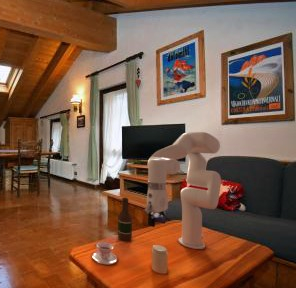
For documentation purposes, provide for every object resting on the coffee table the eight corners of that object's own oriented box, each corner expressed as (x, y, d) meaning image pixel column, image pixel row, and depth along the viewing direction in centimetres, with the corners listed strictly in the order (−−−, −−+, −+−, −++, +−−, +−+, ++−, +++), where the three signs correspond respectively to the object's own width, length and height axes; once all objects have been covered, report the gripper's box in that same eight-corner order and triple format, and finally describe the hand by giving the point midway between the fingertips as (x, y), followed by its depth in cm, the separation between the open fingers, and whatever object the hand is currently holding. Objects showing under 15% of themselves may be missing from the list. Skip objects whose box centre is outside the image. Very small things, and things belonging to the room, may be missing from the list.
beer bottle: (132, 242, 122) (133, 200, 122) (118, 241, 124) (118, 199, 123) (130, 236, 130) (131, 197, 129) (117, 235, 131) (117, 196, 131)
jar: (155, 263, 101) (155, 243, 101) (170, 269, 96) (170, 248, 96) (148, 268, 97) (148, 247, 97) (163, 275, 92) (164, 253, 92)
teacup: (119, 255, 108) (119, 243, 108) (114, 267, 97) (115, 254, 97) (95, 250, 113) (95, 238, 113) (89, 261, 103) (89, 248, 102)
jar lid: (147, 220, 98) (147, 216, 98) (149, 216, 104) (149, 211, 104) (164, 223, 95) (164, 219, 95) (165, 218, 100) (165, 214, 100)
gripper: (152, 189, 91) (152, 231, 92) (175, 185, 100) (175, 223, 101) (137, 186, 98) (137, 225, 98) (160, 182, 107) (160, 218, 107)
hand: (156, 224), depth 99 cm, fingers closed on jar lid, 7 cm apart
